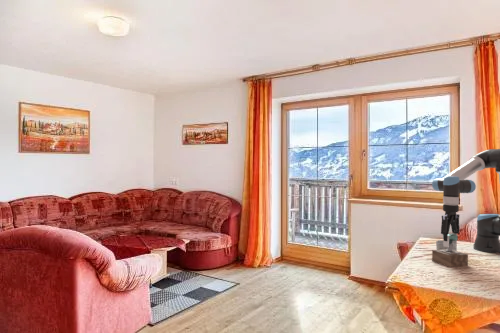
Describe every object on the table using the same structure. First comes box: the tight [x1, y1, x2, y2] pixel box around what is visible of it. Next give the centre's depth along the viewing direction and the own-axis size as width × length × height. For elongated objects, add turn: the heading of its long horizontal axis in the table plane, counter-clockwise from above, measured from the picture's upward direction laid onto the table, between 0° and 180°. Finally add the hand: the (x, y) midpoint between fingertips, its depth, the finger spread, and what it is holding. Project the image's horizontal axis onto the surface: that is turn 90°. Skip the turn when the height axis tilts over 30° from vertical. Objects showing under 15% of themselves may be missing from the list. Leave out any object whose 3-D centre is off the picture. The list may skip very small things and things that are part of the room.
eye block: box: [431, 249, 469, 268], centre depth 187 cm, size 12×12×6 cm
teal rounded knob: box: [442, 233, 459, 253], centre depth 187 cm, size 7×7×15 cm
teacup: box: [435, 239, 458, 251], centre depth 205 cm, size 14×11×8 cm
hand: (450, 245), depth 187 cm, fingers closed on teal rounded knob, 7 cm apart
